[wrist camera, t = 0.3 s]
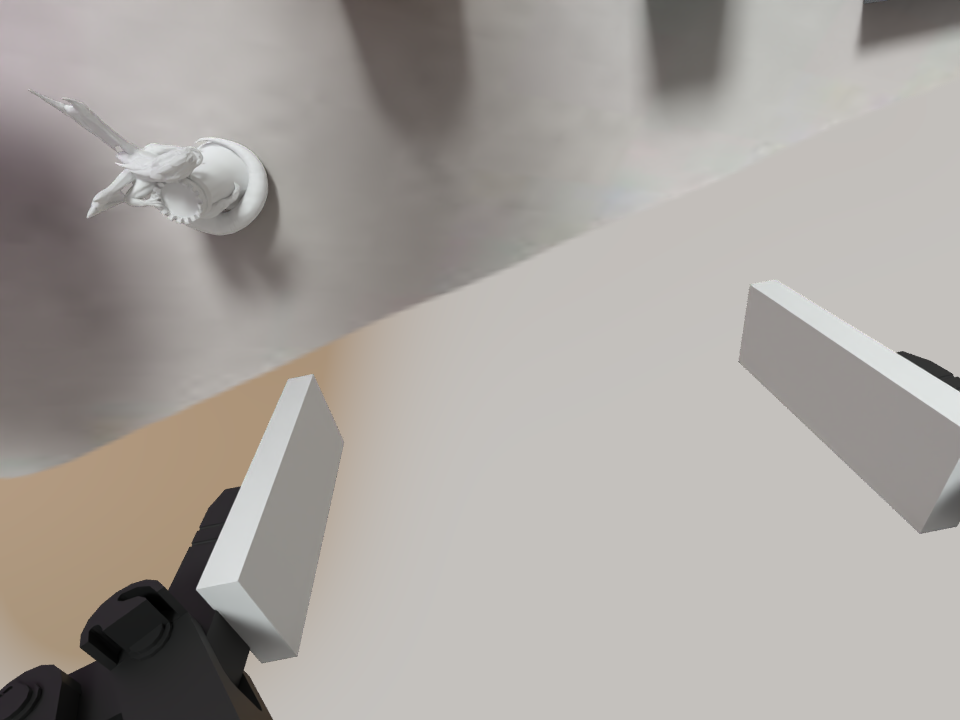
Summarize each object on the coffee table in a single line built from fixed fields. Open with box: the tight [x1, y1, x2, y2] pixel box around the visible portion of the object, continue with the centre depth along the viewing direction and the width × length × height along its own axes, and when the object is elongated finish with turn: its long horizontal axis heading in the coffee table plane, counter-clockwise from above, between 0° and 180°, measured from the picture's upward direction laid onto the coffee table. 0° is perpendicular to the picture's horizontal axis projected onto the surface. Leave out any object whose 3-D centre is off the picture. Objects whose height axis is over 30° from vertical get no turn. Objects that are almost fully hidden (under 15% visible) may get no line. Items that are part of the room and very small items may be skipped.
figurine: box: [28, 89, 268, 235], centre depth 30 cm, size 11×8×12 cm
